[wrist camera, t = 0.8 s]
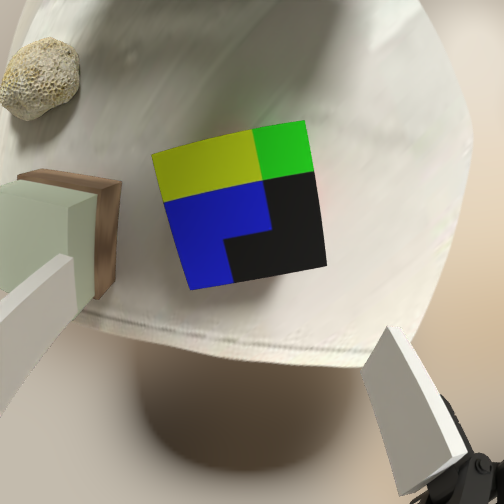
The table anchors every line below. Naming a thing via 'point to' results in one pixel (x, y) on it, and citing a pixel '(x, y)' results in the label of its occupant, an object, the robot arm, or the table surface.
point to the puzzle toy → (243, 205)
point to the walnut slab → (104, 217)
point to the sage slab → (46, 233)
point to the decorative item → (40, 78)
